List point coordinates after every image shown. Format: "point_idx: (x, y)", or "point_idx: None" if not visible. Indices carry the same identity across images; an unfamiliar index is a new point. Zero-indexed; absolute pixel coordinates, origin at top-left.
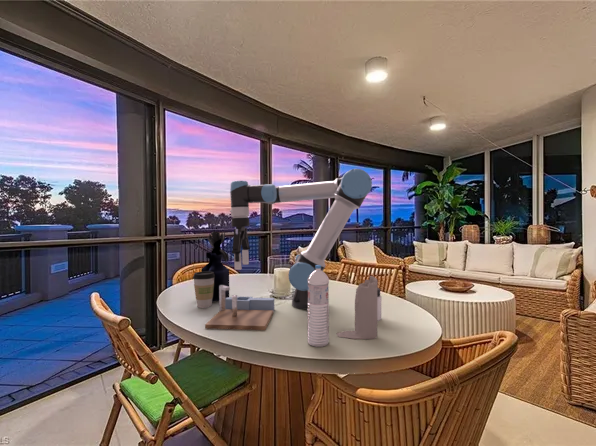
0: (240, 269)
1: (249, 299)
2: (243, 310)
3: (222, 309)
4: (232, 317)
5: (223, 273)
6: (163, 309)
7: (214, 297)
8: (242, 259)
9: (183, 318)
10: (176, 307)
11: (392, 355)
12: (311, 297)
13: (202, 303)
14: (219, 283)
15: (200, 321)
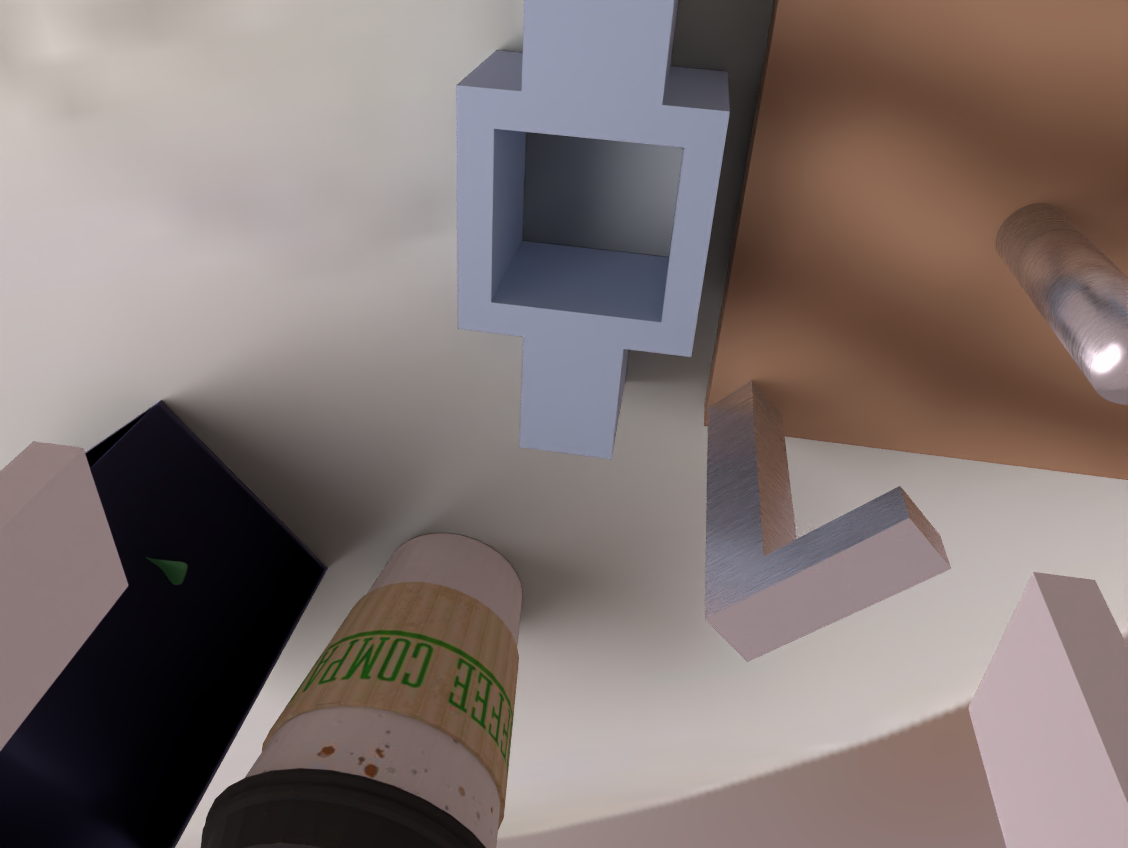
0: (1084, 596)
1: (642, 114)
2: (788, 154)
3: (773, 415)
4: None
5: None
6: (574, 822)
7: (267, 556)
8: (32, 702)
9: (850, 676)
10: (514, 761)
11: None
12: None
13: (517, 624)
14: (139, 627)
15: (981, 544)
